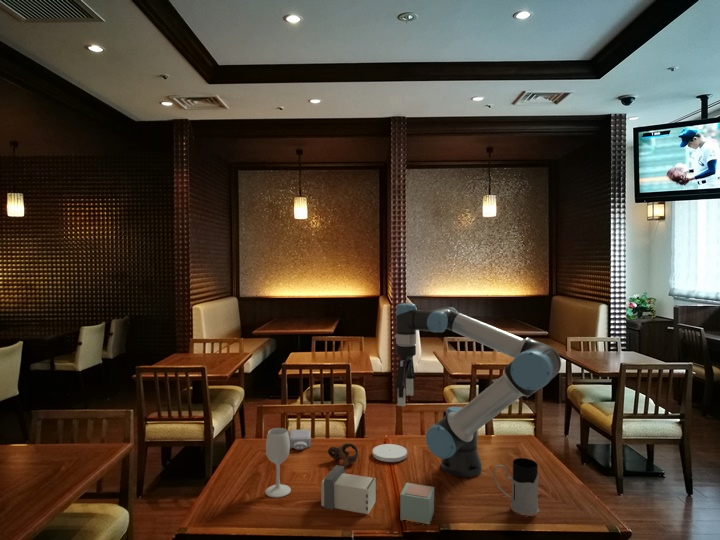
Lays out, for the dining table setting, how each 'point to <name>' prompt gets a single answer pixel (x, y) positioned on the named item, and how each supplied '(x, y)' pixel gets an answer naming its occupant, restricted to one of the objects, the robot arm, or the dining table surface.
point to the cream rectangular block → (348, 491)
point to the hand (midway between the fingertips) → (405, 400)
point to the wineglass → (277, 458)
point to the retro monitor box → (417, 503)
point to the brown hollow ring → (343, 453)
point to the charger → (300, 439)
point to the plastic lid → (389, 453)
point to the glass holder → (523, 486)
